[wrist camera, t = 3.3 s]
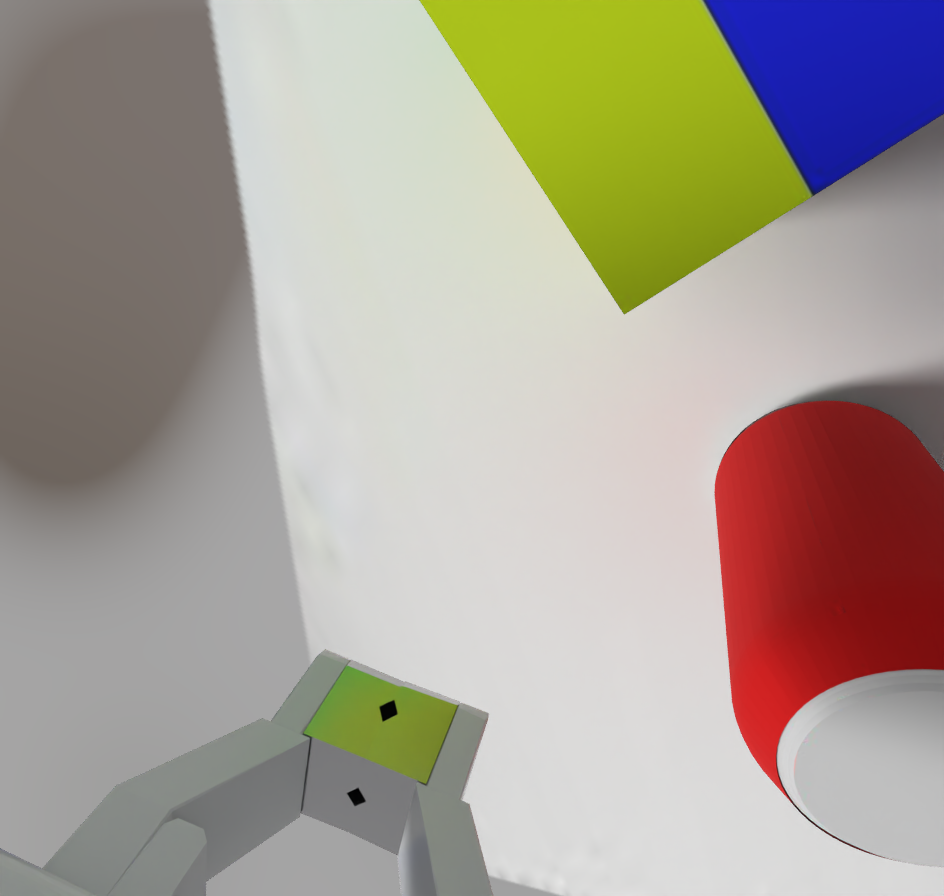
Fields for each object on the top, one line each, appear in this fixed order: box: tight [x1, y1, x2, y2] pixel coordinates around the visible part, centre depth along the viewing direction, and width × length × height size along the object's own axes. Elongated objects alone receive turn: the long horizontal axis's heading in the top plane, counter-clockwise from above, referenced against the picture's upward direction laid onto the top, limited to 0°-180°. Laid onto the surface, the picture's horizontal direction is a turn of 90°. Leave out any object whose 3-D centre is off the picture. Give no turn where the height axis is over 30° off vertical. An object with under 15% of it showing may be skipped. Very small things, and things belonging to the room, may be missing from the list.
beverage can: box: [715, 401, 944, 867], centre depth 17 cm, size 6×6×12 cm
